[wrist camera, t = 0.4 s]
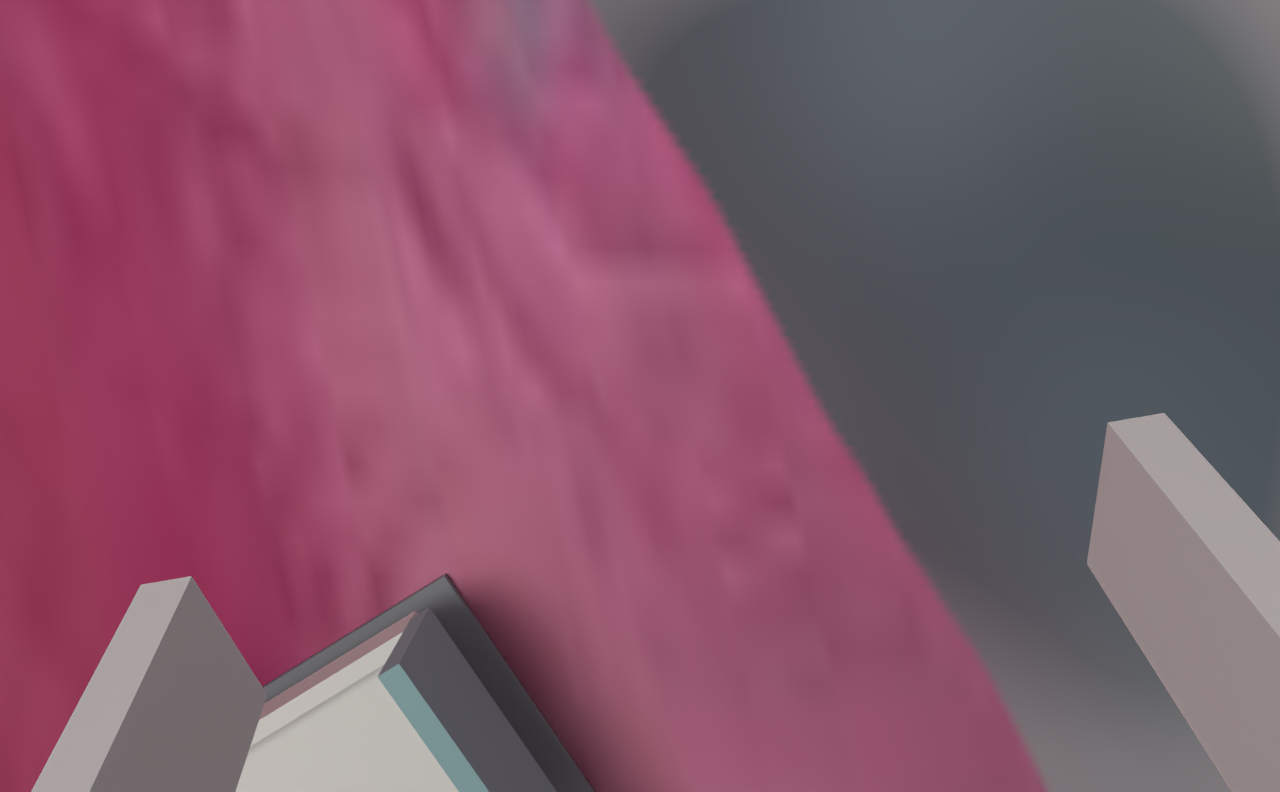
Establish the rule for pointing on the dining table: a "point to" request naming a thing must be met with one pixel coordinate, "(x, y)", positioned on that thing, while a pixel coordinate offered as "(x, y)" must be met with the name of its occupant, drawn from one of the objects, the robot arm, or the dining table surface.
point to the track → (479, 657)
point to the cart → (390, 724)
